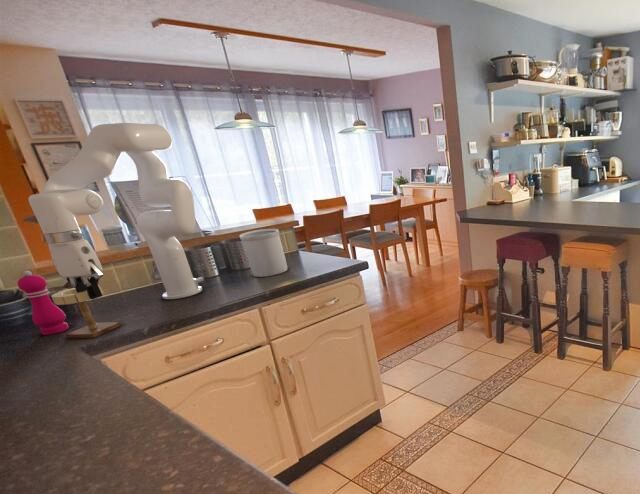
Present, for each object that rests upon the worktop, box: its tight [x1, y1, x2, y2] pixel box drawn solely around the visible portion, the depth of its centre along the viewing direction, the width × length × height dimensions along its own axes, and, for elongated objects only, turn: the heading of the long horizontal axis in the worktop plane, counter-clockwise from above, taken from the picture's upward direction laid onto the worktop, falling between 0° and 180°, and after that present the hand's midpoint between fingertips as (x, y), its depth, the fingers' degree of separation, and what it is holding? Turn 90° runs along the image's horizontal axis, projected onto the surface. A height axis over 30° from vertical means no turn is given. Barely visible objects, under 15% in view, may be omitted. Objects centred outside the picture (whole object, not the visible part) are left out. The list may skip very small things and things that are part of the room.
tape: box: [51, 284, 105, 306], centre depth 131 cm, size 11×11×2 cm
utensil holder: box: [238, 228, 288, 278], centre depth 186 cm, size 15×15×18 cm
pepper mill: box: [17, 270, 70, 336], centre depth 134 cm, size 7×7×20 cm
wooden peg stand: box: [65, 291, 122, 339], centre depth 133 cm, size 9×9×13 cm
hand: (91, 297), depth 131 cm, fingers closed on tape, 2 cm apart
